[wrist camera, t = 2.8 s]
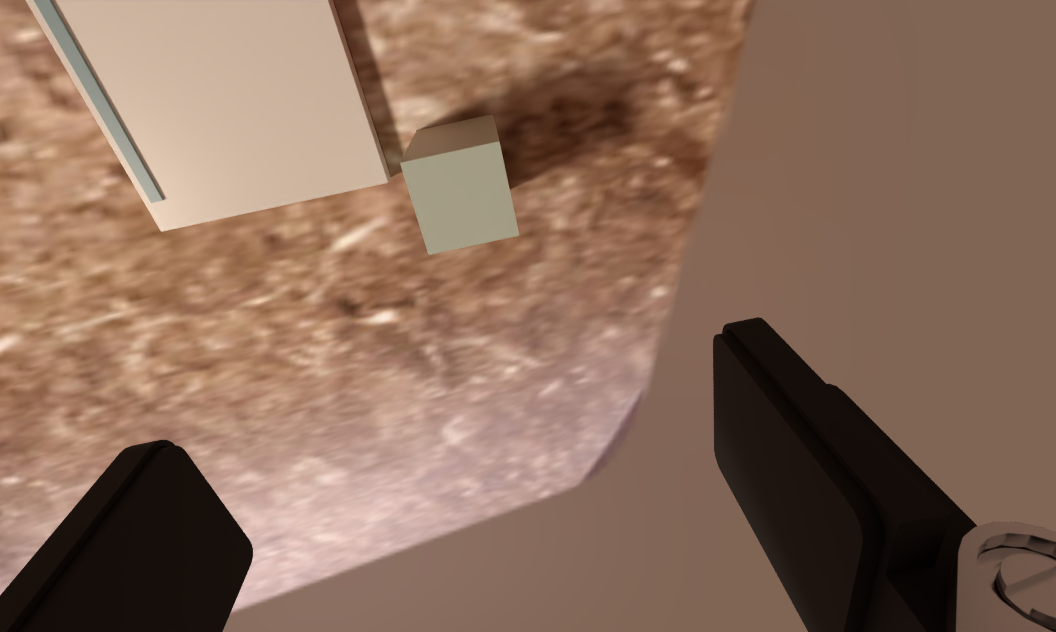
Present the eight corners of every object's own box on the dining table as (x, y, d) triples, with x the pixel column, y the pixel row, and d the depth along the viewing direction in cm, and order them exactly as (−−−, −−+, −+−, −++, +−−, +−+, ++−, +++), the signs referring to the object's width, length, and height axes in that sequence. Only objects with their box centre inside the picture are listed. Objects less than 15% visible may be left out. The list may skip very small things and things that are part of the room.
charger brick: (416, 130, 26) (400, 162, 20) (493, 113, 26) (499, 141, 20) (438, 205, 28) (428, 255, 22) (509, 190, 28) (519, 236, 22)
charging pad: (-18, -106, 20) (-43, -112, 19) (276, -172, 20) (266, -182, 19) (171, 224, 27) (159, 232, 26) (390, 177, 27) (387, 183, 26)
